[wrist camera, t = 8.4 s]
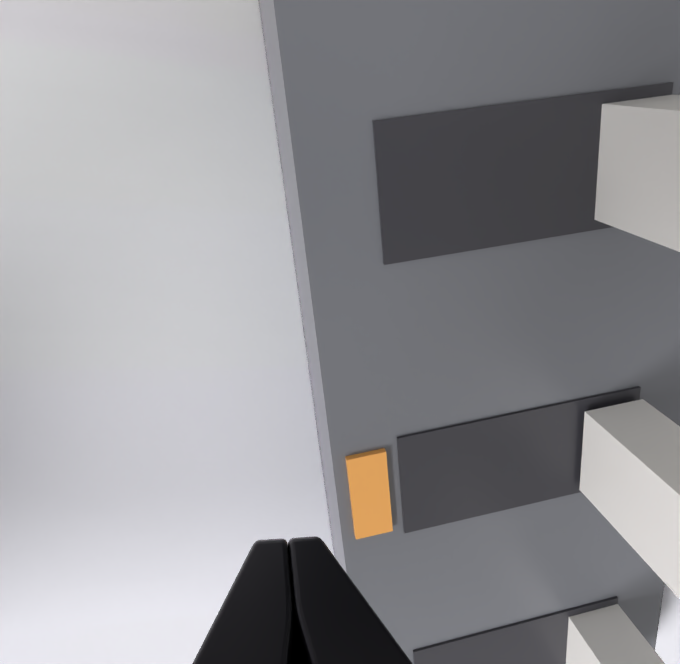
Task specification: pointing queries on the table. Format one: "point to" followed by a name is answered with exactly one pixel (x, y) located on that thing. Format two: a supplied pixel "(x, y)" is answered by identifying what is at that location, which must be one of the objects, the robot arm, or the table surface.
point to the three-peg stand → (483, 302)
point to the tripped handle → (636, 480)
